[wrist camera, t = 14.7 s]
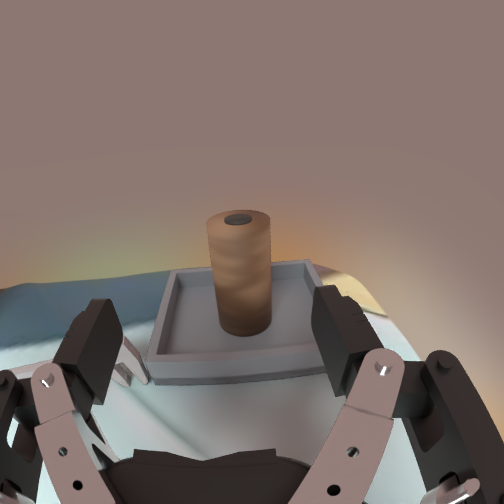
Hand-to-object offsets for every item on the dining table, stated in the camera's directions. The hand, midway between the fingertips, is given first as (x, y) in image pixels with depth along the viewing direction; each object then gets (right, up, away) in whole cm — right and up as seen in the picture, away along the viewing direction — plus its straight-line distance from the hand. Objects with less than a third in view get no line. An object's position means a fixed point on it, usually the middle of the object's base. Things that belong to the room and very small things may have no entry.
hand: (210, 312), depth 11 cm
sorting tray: (+1, -5, +17) cm, 18 cm away
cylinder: (+1, -4, +16) cm, 17 cm away
